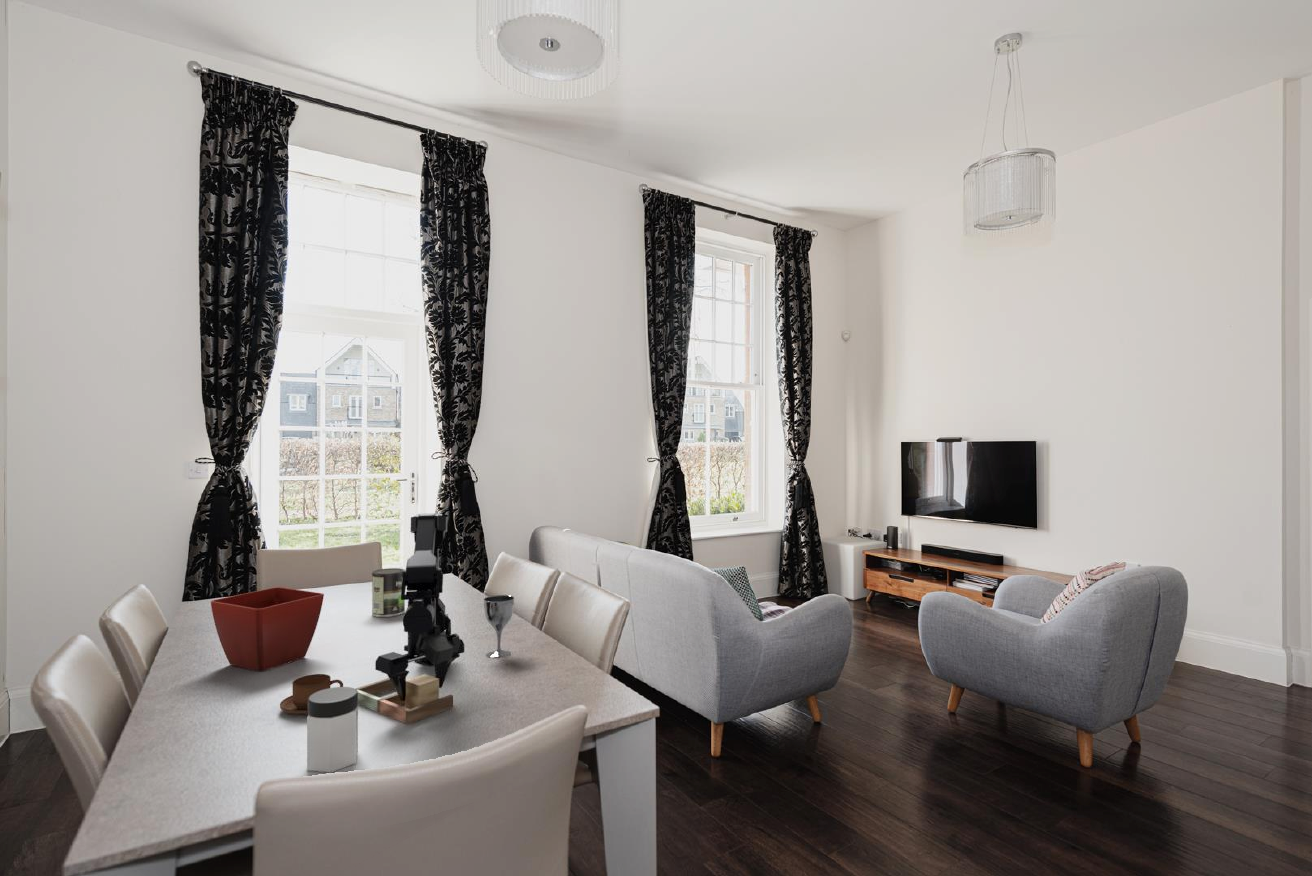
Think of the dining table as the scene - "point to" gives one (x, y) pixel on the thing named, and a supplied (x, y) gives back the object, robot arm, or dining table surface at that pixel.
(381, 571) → the coffee can
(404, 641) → the dining table surface
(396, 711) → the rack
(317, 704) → the jar
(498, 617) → the wine glass
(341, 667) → the dining table surface
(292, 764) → the dining table surface
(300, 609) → the plant pot
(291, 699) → the cup and saucer
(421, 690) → the block
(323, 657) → the dining table surface
